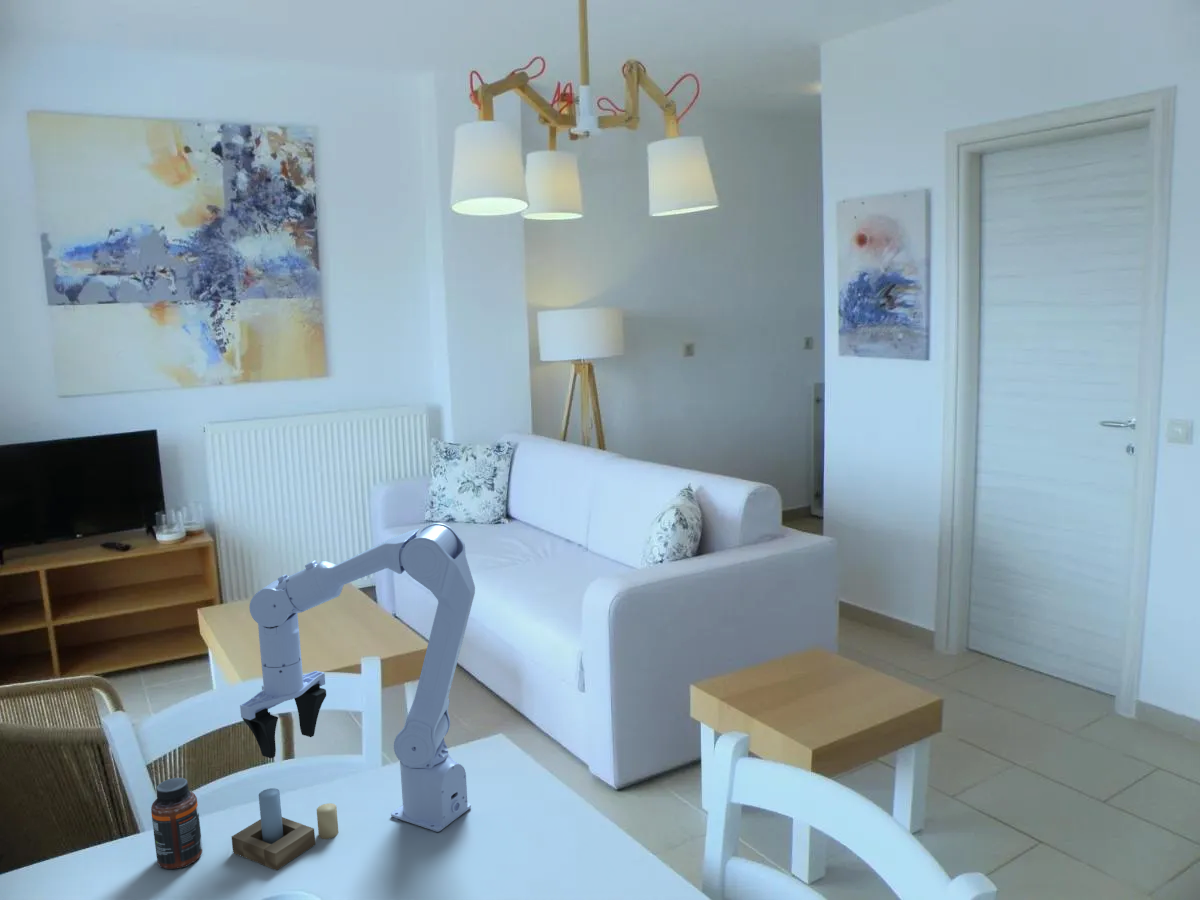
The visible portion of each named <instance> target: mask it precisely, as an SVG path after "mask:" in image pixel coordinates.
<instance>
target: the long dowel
mask: <svg viewBox="0 0 1200 900" xmlns="http://www.w3.org/2000/svg"><path fill="white" fill-rule="evenodd" d="M258 802H259V803H258V804H259V812H260V814H259V815H260V819H261V827H262V838H263V841H264V842H266V843H269V844H273V843H274V842H276V841H278V840H279V839H281V838H282V837H283V826H282V817H283V816H282V807H281V806H282V805H281V794H280V789H278V788H275V787H273V788H266V789H264V790H262V791H260V792H259V794H258Z"/></svg>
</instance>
